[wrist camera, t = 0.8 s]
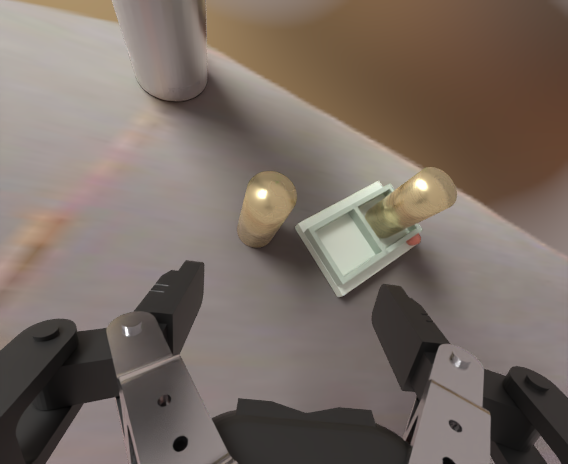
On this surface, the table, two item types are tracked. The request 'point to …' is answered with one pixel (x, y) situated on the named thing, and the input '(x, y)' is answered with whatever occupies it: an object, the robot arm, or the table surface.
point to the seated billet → (412, 202)
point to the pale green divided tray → (353, 240)
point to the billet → (265, 207)
